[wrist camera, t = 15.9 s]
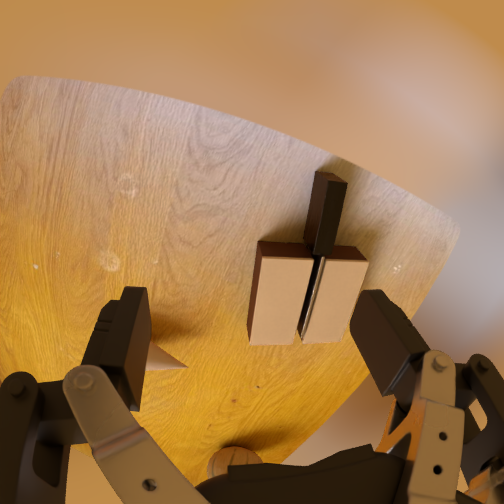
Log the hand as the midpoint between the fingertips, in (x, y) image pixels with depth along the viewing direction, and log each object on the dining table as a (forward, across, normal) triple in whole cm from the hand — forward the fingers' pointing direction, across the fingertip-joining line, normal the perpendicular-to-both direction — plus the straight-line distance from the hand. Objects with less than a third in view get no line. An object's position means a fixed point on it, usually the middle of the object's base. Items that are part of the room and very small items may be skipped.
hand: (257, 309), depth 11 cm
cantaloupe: (+24, -5, +71) cm, 75 cm away
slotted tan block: (+25, -12, +17) cm, 32 cm away
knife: (+25, -12, +11) cm, 30 cm away
